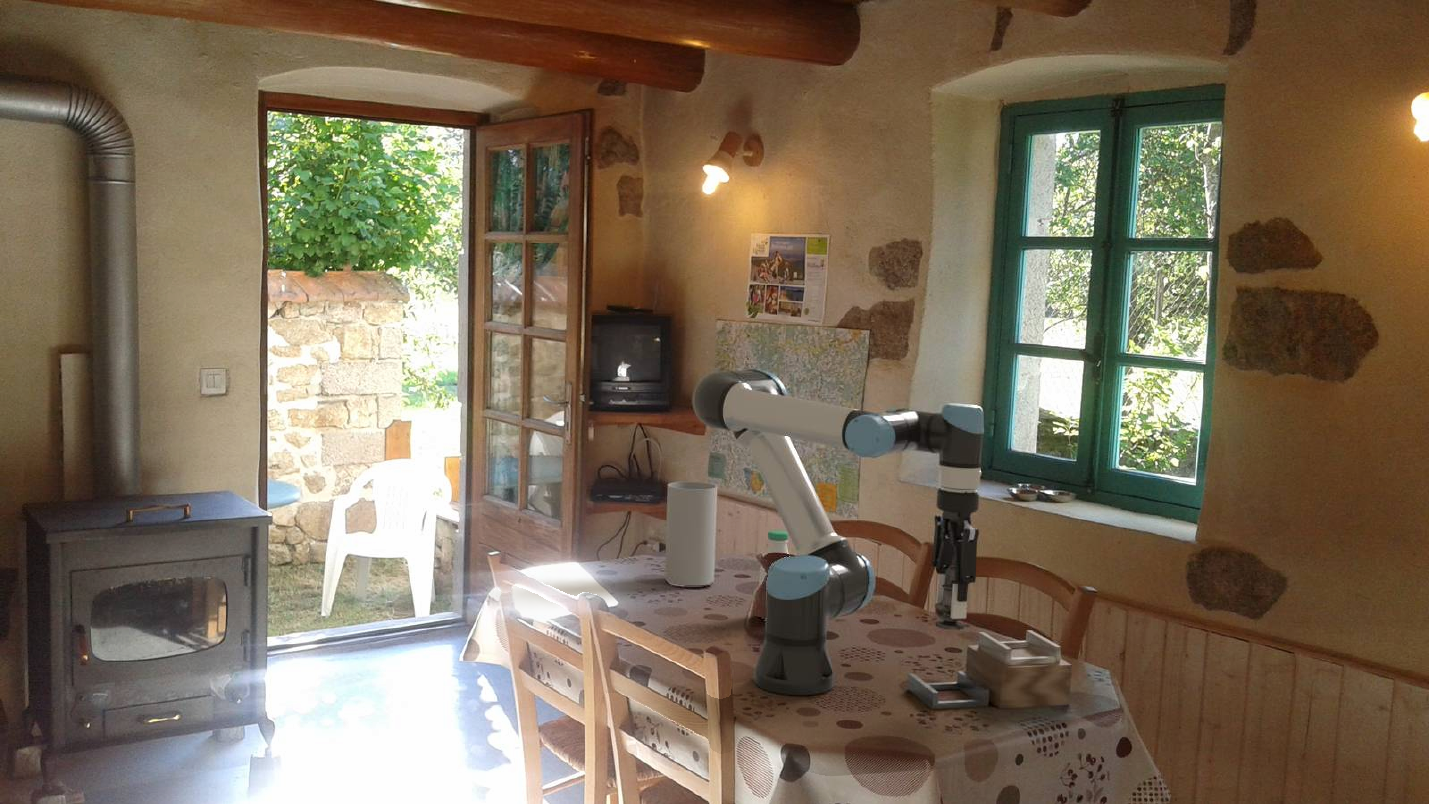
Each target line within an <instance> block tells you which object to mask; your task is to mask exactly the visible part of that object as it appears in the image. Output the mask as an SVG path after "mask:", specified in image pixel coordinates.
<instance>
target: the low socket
mask: <svg viewBox="0 0 1429 804" xmlns="http://www.w3.org/2000/svg"><path fill="white" fill-rule="evenodd" d="M956 675H957V676H956V677H957V679H956V681H947V682H946V681H944V682H943V681H942V682H925V681H924V680H923V679H921V678H920V677H919V676H918V675H916V674H915V673H908V678H907V679H908V681H907V683H908V684H907V690H908V691H909V692H911V693H912V694H913V695H914V696H916V697H917V698H918V699H920V701H922V703H924V704H926V705H927V706H928V707H929V708H930V709H932V710H941V709H942V710H944V709H961V708H978V707H979V708H980V707H989V703H990V701H989V689H987V688H986V687H984V686H983V685H981V684H980V683H979V682H977V681H976V680H974V679H973V678H971V677H970V676H968V675H967V674H966V672H964V671H961V670H960V671H957V674H956ZM954 689H956V690H958V689H959V690H961V692H963V693H964V694H966V695H967V696H969V698H971V699H963V700H962V699H959V700H958V699H957V700H940V701H939V692H938V690H940V691H941V690H954Z"/></svg>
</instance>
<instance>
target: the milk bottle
mask: <svg viewBox="0 0 1429 804" xmlns="http://www.w3.org/2000/svg"><path fill="white" fill-rule="evenodd" d="M767 538H768V539H767V541H768V546H767V549H766V551H765V554H764V555H766V554H768V553H772V552H783V553H787V554H789V555H790V553H789V550H788V549H789V548H788V542H789V534H788V532H787V530H786V531H785V530H777V529H775V530H768V532H767ZM759 567H760V568H759V580H758V581H759V583H758V587H759V586H760V585H761V584H762V582H763V580H764V578H765V576H766V572H765V569H764V568H763V567H762V565H761V564H760V566H759Z"/></svg>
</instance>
